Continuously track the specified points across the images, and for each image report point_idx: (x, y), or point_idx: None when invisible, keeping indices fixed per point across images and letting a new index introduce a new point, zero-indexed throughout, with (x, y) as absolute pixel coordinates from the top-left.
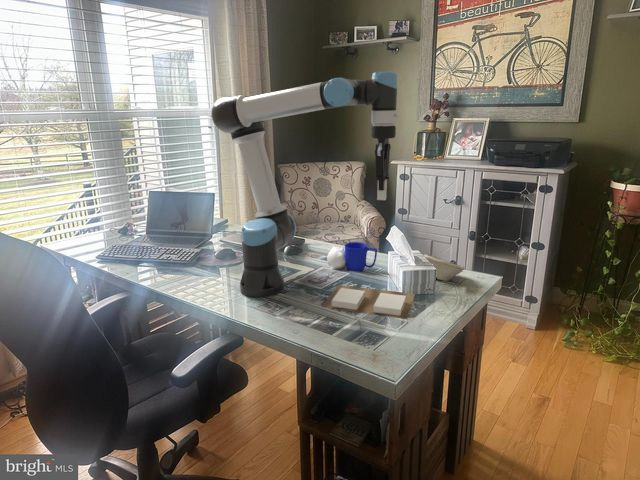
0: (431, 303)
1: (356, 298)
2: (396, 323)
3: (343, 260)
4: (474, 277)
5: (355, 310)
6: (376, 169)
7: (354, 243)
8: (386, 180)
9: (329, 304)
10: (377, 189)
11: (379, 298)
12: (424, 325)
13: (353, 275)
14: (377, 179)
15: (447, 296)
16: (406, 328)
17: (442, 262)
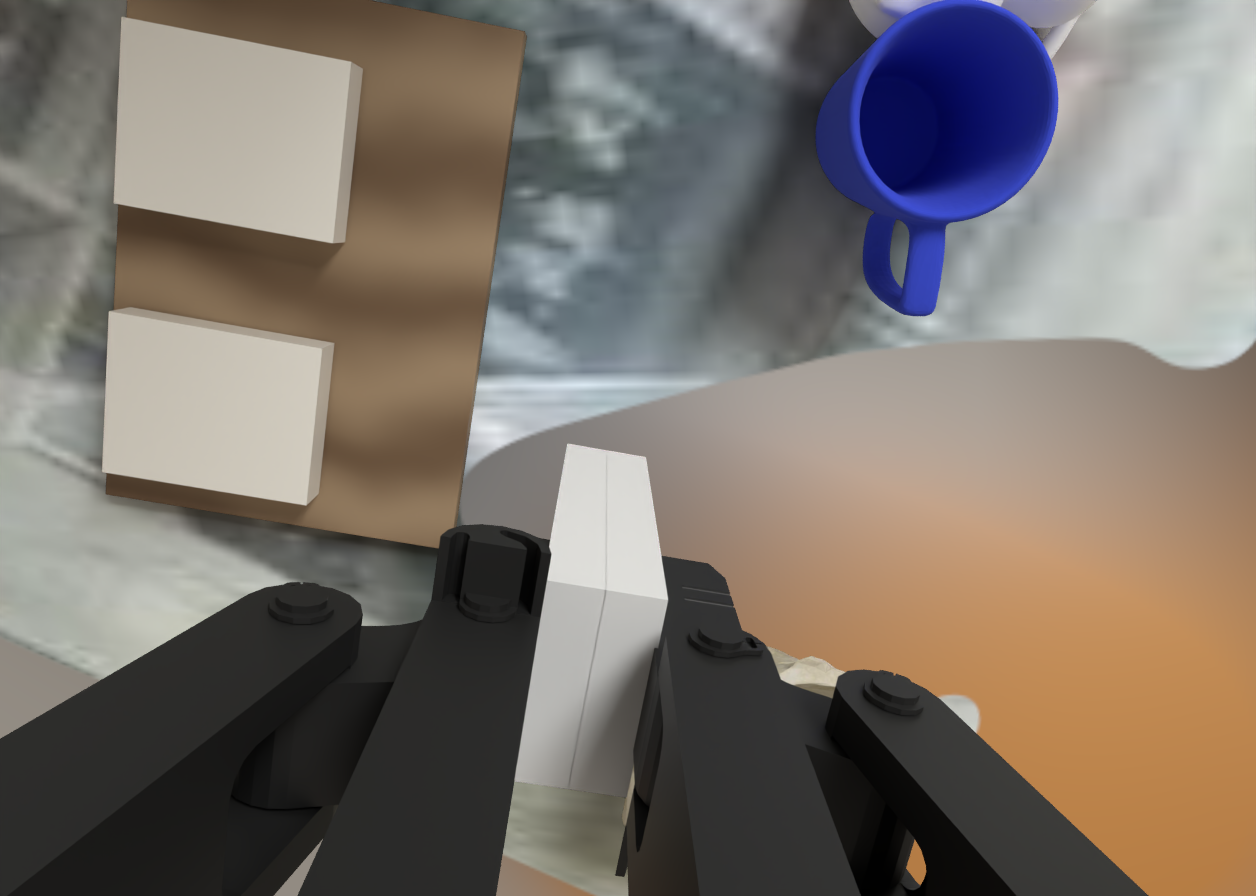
0: (387, 624)
1: (196, 192)
2: (92, 434)
3: (874, 20)
4: None
5: None
6: (16, 752)
7: (1041, 95)
8: (583, 781)
9: (179, 5)
10: (558, 501)
11: (230, 344)
12: (109, 573)
13: (776, 128)
14: (449, 591)
15: None
16: (50, 484)
17: (629, 784)
